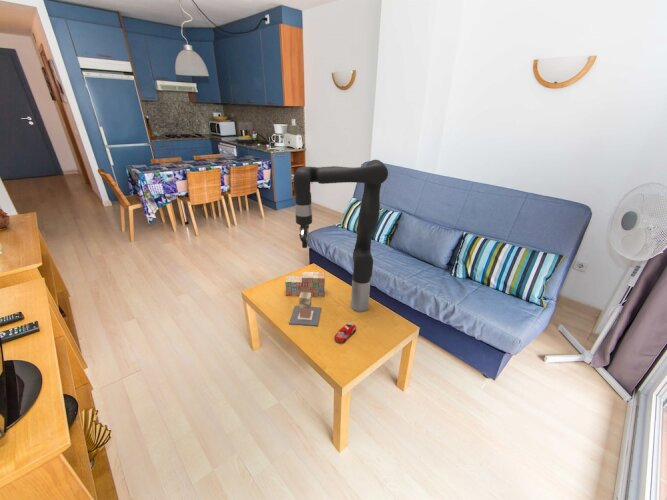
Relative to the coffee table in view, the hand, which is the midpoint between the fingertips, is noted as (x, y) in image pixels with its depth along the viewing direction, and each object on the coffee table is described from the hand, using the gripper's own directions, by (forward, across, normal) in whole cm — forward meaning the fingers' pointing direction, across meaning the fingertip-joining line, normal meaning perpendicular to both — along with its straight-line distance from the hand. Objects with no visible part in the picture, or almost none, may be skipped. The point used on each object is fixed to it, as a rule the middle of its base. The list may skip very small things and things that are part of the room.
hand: (304, 247), depth 143 cm
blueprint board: (+35, -8, -1) cm, 36 cm away
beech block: (+28, -9, -1) cm, 29 cm away
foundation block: (+34, -8, -1) cm, 35 cm away
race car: (+35, -20, -21) cm, 46 cm away
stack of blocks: (+35, +12, +2) cm, 37 cm away
